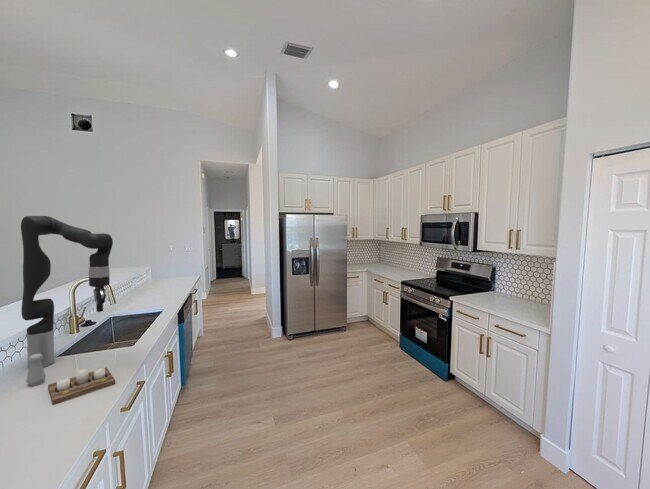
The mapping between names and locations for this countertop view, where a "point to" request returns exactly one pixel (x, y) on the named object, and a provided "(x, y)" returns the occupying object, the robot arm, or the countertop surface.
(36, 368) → the salt shaker
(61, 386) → the white domed cylinder
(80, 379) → the button
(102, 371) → the button
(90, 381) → the board
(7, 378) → the countertop surface
